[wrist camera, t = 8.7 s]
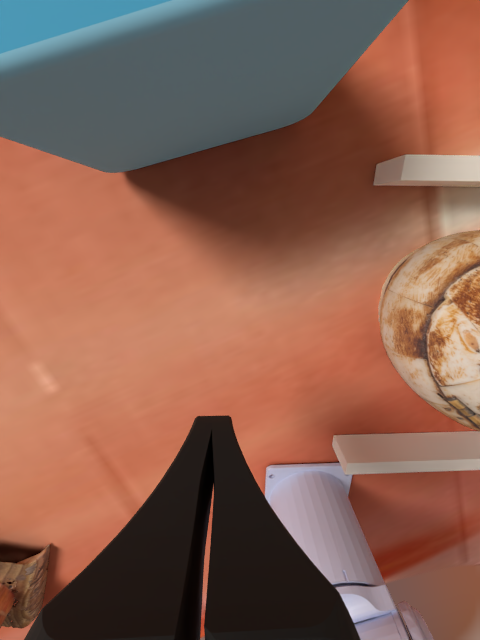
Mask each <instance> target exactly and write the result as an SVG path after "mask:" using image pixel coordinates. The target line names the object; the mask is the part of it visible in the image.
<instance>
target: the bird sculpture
mask: <svg viewBox="0 0 480 640" xmlns="http://www.w3.org/2000/svg"><path fill="white" fill-rule="evenodd" d="M49 554H50V544H49V545H48V546H47V547H46V548H45V549H44V550H43V551H42V552H41V553H39V554H37V555H34V556H32V557H30V558H27V559H25V560H22V561H20V562H18V563H10V562H0V628H1V626H5V627H10V626H12V627H13V628H24V627H26V626H28V625H29V624H30V623H31V622H32V621H33V620H34V619H35V618H36V616H37V615H38V613H39V611H40V609H41V607H42V604H43V600H42V599H43V598H44V596H43V595H44V592H45V586H46V585H45V584H46V579H47V572H48V571H46V570H47V569H46V568H47V567H48V562H49V561H48V559H49V558H48V557H49ZM14 580H15V581H14ZM12 581H14V582H13V584H8V583H7V582H12ZM3 583H5V584H3ZM12 590H16V591H15V592H12ZM14 600H15V601H14ZM16 601H18V602H16ZM14 603H16V604H15V606H14V605H13V604H14ZM11 621H12V622H11Z"/></svg>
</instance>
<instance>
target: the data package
mask: <svg viewBox="0 0 480 640" xmlns="http://www.w3.org/2000/svg"><path fill="white" fill-rule="evenodd" d="M407 2H408V0H0V137H3V138H6V139H9V140H12V141H15V142H18V143H21V144H24V145H27V146H30V147H33V148H35V149H38V150H41V151H44V152H47V153H50V154H53V155H56V156H59V157H62V158H65V159H68V160H71V161H74V162H77V163H80V164H83V165H86V166H89V167H91V168H94V169H97V170H100V171H103V172H108V173H117V172H125V171H131V170H135V169H139V168H142V167H146V166H149V165H153V164H156V163H160V162H163V161H167V160H170V159H174V158H177V157H181V156H184V155H188V154H191V153H195V152H198V151H202V150H205V149H209V148H213V147H216V146H220V145H223V144H227V143H230V142H234V141H237V140H241V139H244V138H248V137H251V136H255V135H258V134H262V133H265V132H269V131H272V130H276V129H279V128H283V127H286V126H288V125H291V124H294V123H296V122H298V121H300V120H302V119H304V118H306V117H307V116H309V115H310V114H311V113H312V112H313V111H314V110H315V109H316V108H317V107H318V105H319V104H320V103H321V102H322V101H323V100H324V98H325V97H326V96H327V95H328V94H329V93H330V91H331V90H332V89H333V88H334V87H335V86H336V84H337V83H338V82H339V81H340V80H341V79H342V77H343V76H344V75H345V74H346V73H347V72H348V70H349V69H350V68H351V67H352V66H353V65H354V63H355V62H356V61H357V60H358V59H359V58H360V56H361V55H362V54H363V53H364V52H365V51H366V49H367V48H368V47H369V46H370V45H371V44H372V42H373V41H374V40H375V39H376V38H377V37H378V35H379V34H380V33H381V32H382V31H383V30H384V28H385V27H386V26H387V25H388V24H389V23H390V21H391V20H392V19H393V18H394V17H395V16H396V14H397V13H398V12H399V11H400V10H401V9H402V7H403V6H404V5H405V4H406V3H407Z"/></svg>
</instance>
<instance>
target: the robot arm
mask: <svg viewBox="0 0 480 640" xmlns="http://www.w3.org/2000/svg"><path fill="white" fill-rule="evenodd" d="M352 475H353V474H350V475H345V473H344V471H343V469H342V467H341V464H340V463H318V464H288V465H270V466H268V467H267V468H266V481H265V496H264V495H263V493H262V491H261V490H260V488H259V486H258V484H257V482H256V481H255V479H254V477H253V475H252V473H251V471H250V469H249V467H248V465H247V463H246V461H245V458H244V456H243V454H242V451H241V449H240V447H239V444H238V442H237V439H236V436H235V433H234V429H233V425H232V419H231V417H230V416H198V417H196V418H195V420H194V423H193V425H192V428H191V430H190V432H189V434H188V436H187V438H186V440H185V442H184V444H183V446H182V447H181V449H180V451H179V453H178V454H177V456H176V458H175V459H174V461H173V463H172V464H171V466H170V467H169V469H168V470H167V472H166V473H165V475H164V477H163V478H162V480H161V481H160V482H159V484H158V485H157V487H156V488H155V490H154V491H153V492H152V494H151V495H150V496H149V498H148V499H147V500H146V501H145V503H144V504H143V505H142V507H141V508H140V509H139V510H138V511H137V513H136V514H135V515H134V516H133V517H132V519H131V520H130V521H129V522H128V523H127V525H126V526H125V527H124V528H123V529H122V530H121V531H120V533H119V534H118V535H117V536H116V537H115V538H114V539H113V540H112V541H111V542H110V543H109V544H108V545H107V546H106V547H105V549H104V550H103V551H102V552H101V553H100V554H99V555H98V556H97V557H96V558H95V559H94V560H93V561H92V562H91V563H90V564H89V565H88V566H87V567H86V568H85V569H84V570H83V571H82V572H81V573H80V574H79V575H78V576H77V577H76V578H75V579H74V580H72V581H71V582H70V583H69V584H68V585H67V586H66V587H65V588H64V589H63V590H62V591H61V592H60V593H59V594H57V595H56V596H55V597H54V598H53V599H52V600H51V601H50V602H49V603H48V604H47V605H46V606H44V607H43V608H42V610H41V611H40V613H39V615H38V617H37V618H36V620H35V622H34V623H33V625H32V627H31V629H30V630H29V632H28V634H27V636H26V637H25V639H24V640H200V630H201V609H202V589H203V569H204V556H205V546H206V538H207V530H208V522H209V514H210V507H211V499H212V491H213V483H214V502H213V518H212V533H211V547H210V561H209V574H208V587H207V599H206V612H205V623H204V630H205V640H411V639H412V640H434V639H433V637H432V635H431V633H430V631H429V629H428V627H427V625H426V623H425V621H424V619H423V617H422V615H421V614H420V612H419V611H417V610H416V609H415V608H413V607H412V606H409V604H408V603H407V602H406V601H402V602H400V603H398V606H399V608H400V611H401V613H402V615H403V617H404V620H405V622H406V627H407V630H408V632H409V634H410V637H411V639H410V637H409V634H408V632H407V630H406V628H405V625H404V623H403V620H402V618H401V616H400V614H399V612H398V609H397V607H396V605H395V603H394V601H393V599H392V596H391V594H390V592H389V590H388V588H387V586H386V585H385V583H384V580H383V578H382V576H381V573H380V571H379V569H378V566H377V564H376V562H375V559H374V557H373V555H372V552H371V550H370V548H369V545H368V543H367V541H366V538H365V536H364V534H363V531H362V529H361V527H360V524H359V522H358V520H357V517H356V515H355V513H354V510H353V508H352V506H351V503H350V501H349V499H348V495H349V490H350V485H351V480H352Z"/></svg>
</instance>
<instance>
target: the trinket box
mask: <svg viewBox="0 0 480 640" xmlns="http://www.w3.org/2000/svg"><path fill="white" fill-rule="evenodd" d="M378 310H379V311H378V313H379V314H378V315H379V323H380V333H381V338H382V342H383V345H384V348H385V350H386V353H387V355H388V357H389V359H390V360H391V362H392V364H393V366H394V367H395V369H396V370H397V372H398V373H399V374H400V376H401V377H402V378H403V380H404V381H405V382H406V383H407V384H408V385H409V386H410V388H412V390H413V391H414V392H416V393H417V394H418V395H419V396H420V397H421V398H422V399H424V400H425V401H426V402H427V403H429V404H430V405H431V406H433V407H434V408H435V409H437V410H438V411H440V412H441V413H443V414H445V415H446V416H448V417H450V418H451V419H453V420H455V421H457V422H458V423H460V424H462V425H464V426H467V427H469V428H471V429H474V430H477V431H480V230H477V231H468V232H462V233H457V234H453V235H449V236H446V237H443V238H440V239H437V240H435V241H432V242H430V243H428V244H426V245H425V246H423V247H421V248H419V249H417V250H415V251H413V252H411V253H410V254H408V255H406V256H405V257H404V258H403V259H401V260H400V261H399V262H398V263H397V264H396V265H395V267H394V268H393V269H392V270H391V272H390V273H389V275H388V277H387V279H386V281H385V283H384V285H383V287H382V292H381V296H380V301H379V308H378Z"/></svg>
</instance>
